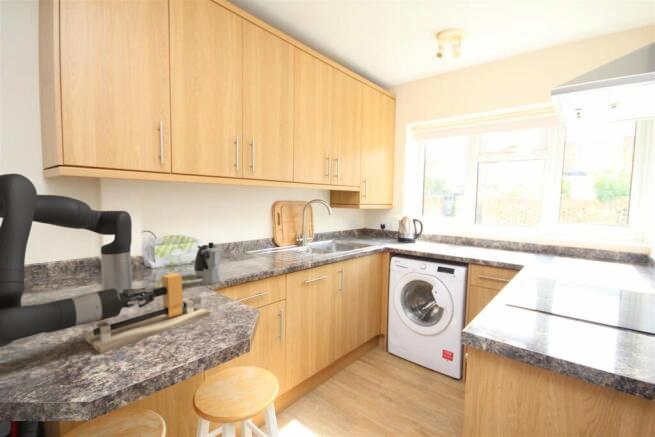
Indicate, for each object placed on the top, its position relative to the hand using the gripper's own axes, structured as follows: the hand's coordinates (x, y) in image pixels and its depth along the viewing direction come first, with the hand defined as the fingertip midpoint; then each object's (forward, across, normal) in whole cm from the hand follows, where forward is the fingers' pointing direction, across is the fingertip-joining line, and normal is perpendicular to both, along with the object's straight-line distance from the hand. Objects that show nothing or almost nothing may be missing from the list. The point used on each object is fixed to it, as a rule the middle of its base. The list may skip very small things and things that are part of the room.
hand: (165, 290), depth 89 cm
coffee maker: (+32, +28, +10) cm, 44 cm away
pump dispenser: (+37, +41, +10) cm, 56 cm away
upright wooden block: (+2, 0, +8) cm, 8 cm away
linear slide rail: (-4, 0, +10) cm, 11 cm away
